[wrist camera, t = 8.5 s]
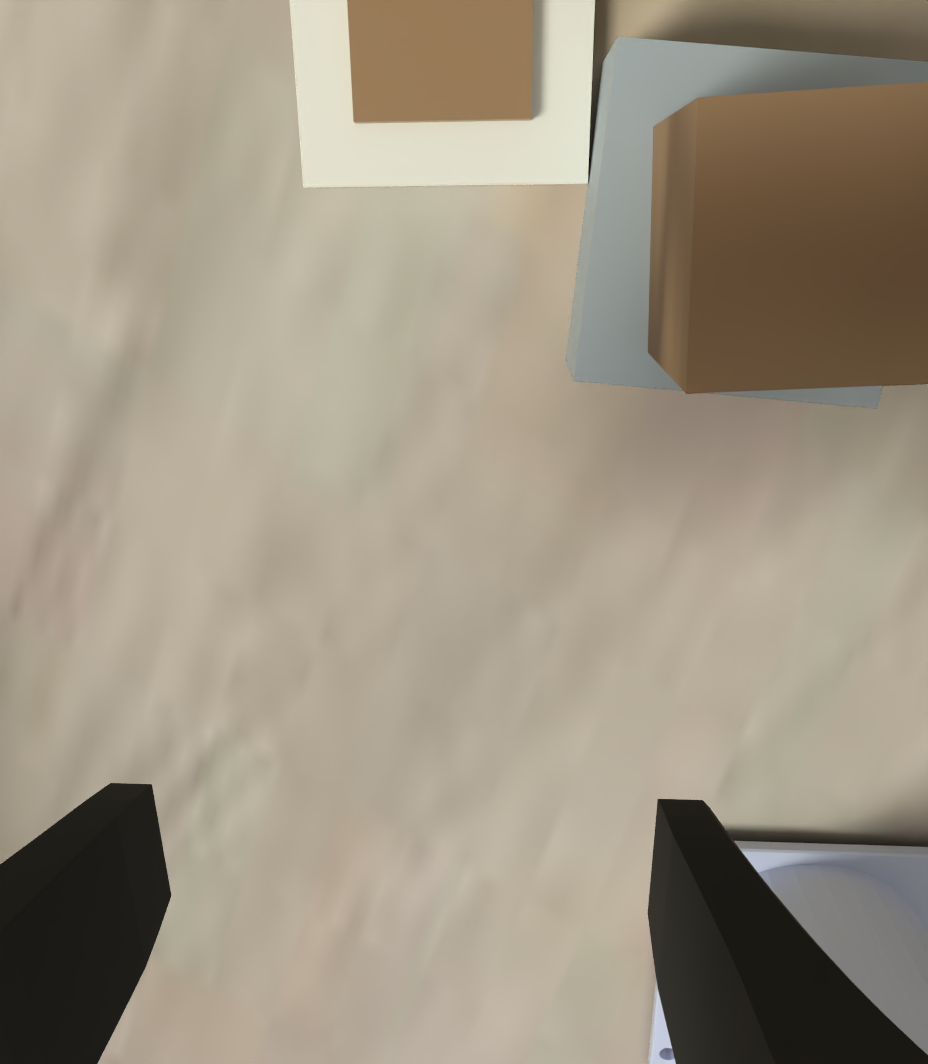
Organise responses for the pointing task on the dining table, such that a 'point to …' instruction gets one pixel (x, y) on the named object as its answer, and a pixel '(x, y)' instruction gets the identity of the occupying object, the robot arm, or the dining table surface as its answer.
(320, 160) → the swatch
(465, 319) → the dining table surface
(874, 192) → the walnut cube
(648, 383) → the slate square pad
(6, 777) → the dining table surface
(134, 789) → the robot arm
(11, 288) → the dining table surface
